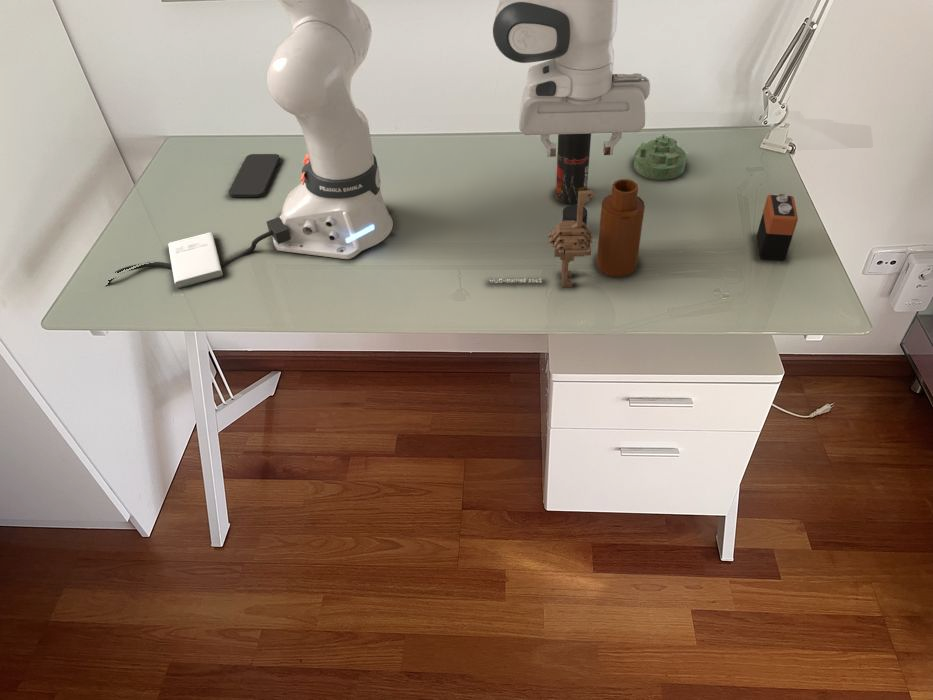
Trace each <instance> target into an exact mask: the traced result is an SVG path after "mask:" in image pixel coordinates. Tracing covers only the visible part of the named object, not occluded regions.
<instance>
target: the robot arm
mask: <svg viewBox="0 0 933 700" xmlns="http://www.w3.org/2000/svg"><path fill="white" fill-rule="evenodd" d="M278 2H279V3H280V5H281V6H282V7H283V9H284V11H285V12H286V15H287V16H288V18H289V20H290V23H291V27H292V28H291V33H290V34H289V36H288V37H287V38H286V39H285V40H284V41H282V43H281V44H280V45H279V46H278V48H276V50H275V53H274V54H273V57H272V59H271V62H270V65H269V67H268V69H267V73H266V85H267V88H268V91H269V93H270V96H271V97H272V99H273V100H274V101H275V102H276V104H277V105H278V106H279V107H280V108H281V109H283V110H284V111H286V113H289V114H291V115H294V117H295V118H296V121H297V122H298V124H299V126H300V129H301V131H302V134H303V137H304V141H305V146H306V149H307V153H306V154H305V156H304V158H303V166H302V169H301V176H300V180H301V182H300V183H299V184H298V185H296V186H294V188H292V189H291V190H290V192H289V193H288V194H287V196H286V198H285V200H284V202H283V205H282V208H281V209H282V210H281V214H280V215H279V216H278V217H277V216H276V217H275V218H273V219H269V220H267V221H266V226H267V229H268V231H266V232H265V233H262V234H260V235H259V236H257V237H255V238H254V239H253V240H252V241H251V245H250V247H249V248H247V249H245V250H244V251H243V252H241V253H240V254H239V255H236V256H234V257H232V258H230V259H227V260H225V261H222V262H220V266H221V268H223V267H226V266H227V265H229V264H231V263H233V262H235V261H236V260H239V259H240V258H243V257H245V256H248V255H249V254H251V253H252V252H253V251H254V250H255V249H256V247H257V244H258V243H259V242H261V241H263V240H265V239H267V238H269V237H271V236H272V241H273V242H272V243H273V246H274V248H275V249H276V250H277V251H280V252H285V253H292V254H301V255H309V256H310V255H311V256H318V257H326V258H332V259H333V258H334V259H342V260H351V259H353V258H355V257H356V256H358V255H359V254H360V253H361V252H362V251H365V250H367V249H369V248H372V247H374V246H377V245H378V244H380V243H381V242H383V241H384V240H385V239H386V238H388V236H389V235H391V232H392V230H393V226H394V221H393V218H392V217H391V215H390V213H389V210H388V208H387V206H386V203H385V200H384V198H383V194H382V190H381V184H382V183H381V174H380V168H379V166H378V161H377V157H376V155H375V153H374V150H373V144H372V138H371V133H370V125H369V121H368V117H367V116H366V114H365V113H364V112H363V111H362V110H361V109H359V108H357V107H356V105H355V103H354V100H353V97H352V94H351V93H352V92H351V84H352V80H353V76H354V75H355V73H356V72H357V71H358V70H359V68H360V67H361V65H362V64H363V62H364V61H365V60H366V58H367V55H368V52H369V48H370V44H371V41H372V35H373V34H372V32H373V31H372V25H371V22H370V19H369V17H368V15H367V14H366V12H365V11H364V10H363V9H362V7H360V6H359V5H358V4H356V3H355V2H353V1H352V0H278ZM618 2H619V1H618V0H498V5H497V8H496V12H495V17H494V20H493V21H494V22H493V25H492V37H493V41H494V43H495V46H496V47H497V49H498V50H499V52H500V53H501V54H502V55H503V56H504V57H505V58H506V59H508V60H511V61H512V62H515V63H521V64H529V63H530V64H531V63H537V62H540V63H538V64H535V65H532V66H530V67H529V68H528V70H527V75H526V85H525V87H524V88H523V91H522V94H521V99H520V107H519V122H518V123H519V126H518V127H519V129H518V130H519V131H520V133H521V134H523V135H524V136H540V141H541V142H542V144H543V145H544V147H545V149H546V155H547V156H546V157H547V158H551V157H552V158H553V157H556V158H557V142H551V139H550V135H551V136H552V135H553V136H554V135H558V134H591V135H592V134H612V136H611V137H610V139H609V140H605V141H603V151H602V153H603V156H613V155H614V148H615V146H616V145H617V144H618V143H619V142H620V140H621V139H622V135H623V133H624V134H625V133H626V134H627V133H640V132H641V131H642V130H643V129H644V128H645V125H646V103H645V102H646V100H647V99H648V98H649V96H650V91H651V82H650V80H649V78H647V76H645V75H642V73H637V72H636V73H631V74H630V73H629V74H628V73H614V62H615V61H614V59H615V51H614V47H613V41H614V37H615V34H616V31H617V23H618ZM150 262H151V261H150ZM150 262H149V261H148V263H149V264H144V265H141V266H139V267H136V268H134V269H131V270H129V271H128V272H130V271H134V270H140V269H145V268H152V267H159V268H161V267H162V268H167V269H171V270H172V265H171V263H168V262H163V261H153V262H154V263H150ZM137 264H138V265H139V264H140V263H137ZM137 264H132V265H127V266H124V267H122V268H120V269H118V270H116V271H114V272H115V273H116V272H117V273H119V272H121V271H123V270H124V269H125V270H126V269H129V268H131V267H133V266H136V265H137ZM114 279H115V278H113V279H111V280H108V281H109V283H108V284H109V285H110V284H111V283H112V282H113V280H114ZM109 285H106V286H105V287H108V286H109Z"/></svg>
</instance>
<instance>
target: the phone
mask: <svg viewBox="0 0 933 700" xmlns="http://www.w3.org/2000/svg"><path fill="white" fill-rule="evenodd" d="M280 160H281V158H280V154H277V153H251V154H248V155H246V156H245V158H244V160H243V162H242V165H241V166H240V168H239V170H238V172H237V175H236V176H235V178H234V180H233V181H232V184H231V186H230V187H229V190H228V194H229V197H230V198H262V197H263V196H264V195H265V194H266V192H267V189H268V187H269V185H270V183H271V180H272V178H273V177H274V174H275V172H276V169H277V167H278V165H279V163H280Z"/></svg>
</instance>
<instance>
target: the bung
mask: <svg viewBox="0 0 933 700" xmlns="http://www.w3.org/2000/svg"><path fill="white" fill-rule="evenodd" d="M577 208H578V204H574V205H569V204H568V205H566V206H565V207H564V208H563V209H562V221H561V222H563V221H567V220H575V221H576V222H577ZM582 222H584V223H585V224H586V227H588V226H587V224H588V210H587V208H586V207H585V206H583V220H582Z"/></svg>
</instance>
